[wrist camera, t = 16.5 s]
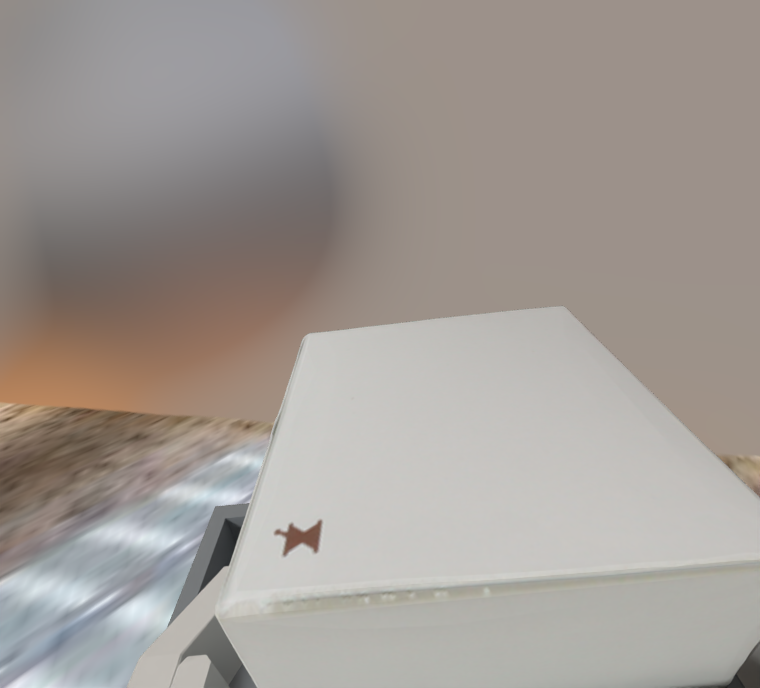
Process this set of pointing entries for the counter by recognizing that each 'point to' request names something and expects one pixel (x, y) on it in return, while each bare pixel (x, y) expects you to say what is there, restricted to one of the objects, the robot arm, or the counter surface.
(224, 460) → the counter surface
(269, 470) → the supplement box
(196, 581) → the tray
